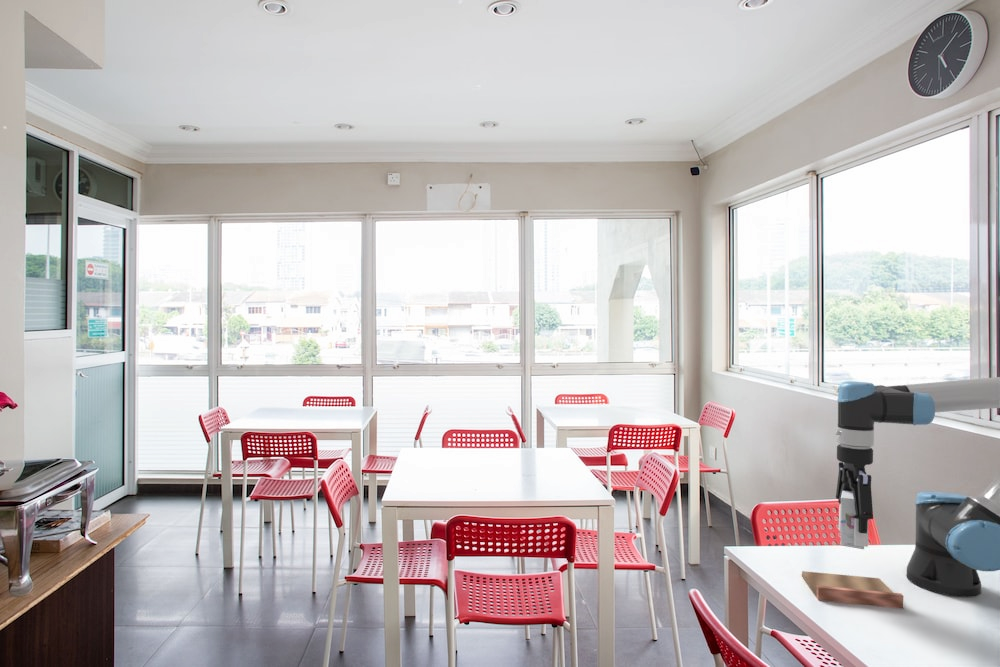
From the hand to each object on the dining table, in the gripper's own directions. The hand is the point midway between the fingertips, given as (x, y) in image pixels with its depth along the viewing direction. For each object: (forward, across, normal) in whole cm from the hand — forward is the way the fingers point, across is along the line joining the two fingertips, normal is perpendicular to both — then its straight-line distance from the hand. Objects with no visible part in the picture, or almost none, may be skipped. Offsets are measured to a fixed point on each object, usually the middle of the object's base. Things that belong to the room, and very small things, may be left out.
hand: (852, 538), depth 142 cm
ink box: (+1, 0, 0) cm, 1 cm away
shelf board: (+14, -2, 0) cm, 14 cm away
